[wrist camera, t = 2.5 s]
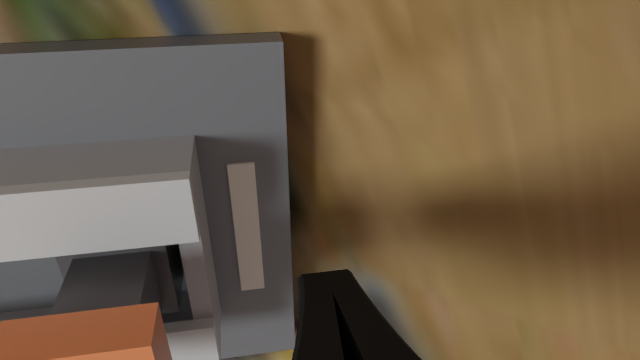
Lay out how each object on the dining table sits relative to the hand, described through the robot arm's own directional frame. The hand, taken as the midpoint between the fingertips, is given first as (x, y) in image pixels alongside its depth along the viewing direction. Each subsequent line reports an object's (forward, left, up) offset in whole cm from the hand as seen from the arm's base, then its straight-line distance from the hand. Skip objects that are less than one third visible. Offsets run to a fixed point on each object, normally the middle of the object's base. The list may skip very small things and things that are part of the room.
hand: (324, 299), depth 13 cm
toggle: (0, +5, -3) cm, 6 cm away
